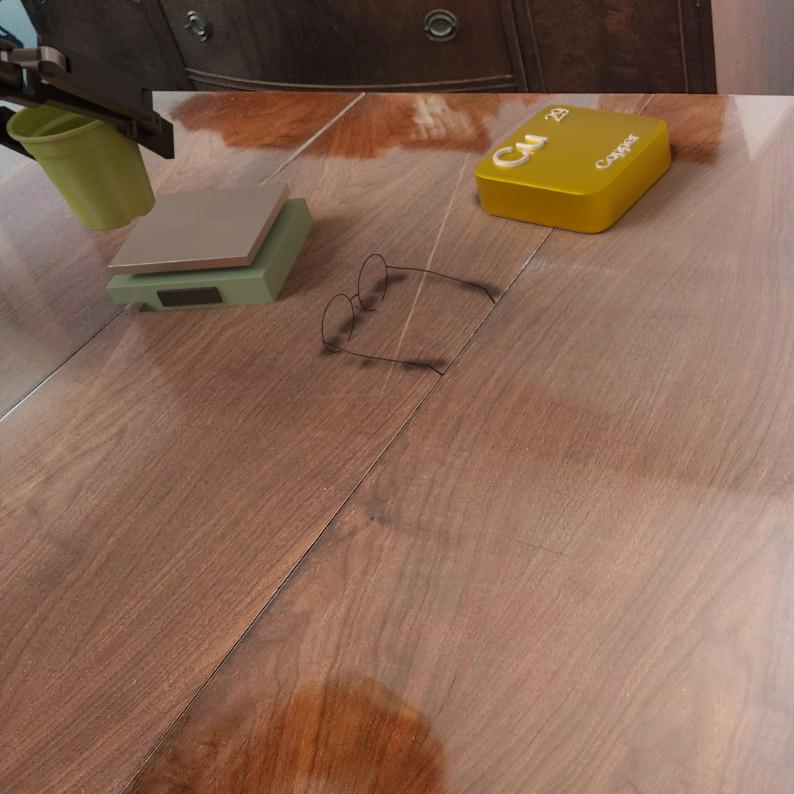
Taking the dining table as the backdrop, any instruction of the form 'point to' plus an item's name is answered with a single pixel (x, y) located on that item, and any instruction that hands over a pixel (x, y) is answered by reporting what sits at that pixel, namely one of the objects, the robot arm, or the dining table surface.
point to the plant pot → (87, 165)
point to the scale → (224, 272)
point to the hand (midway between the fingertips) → (112, 147)
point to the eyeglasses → (381, 300)
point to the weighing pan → (201, 230)
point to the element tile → (574, 168)
